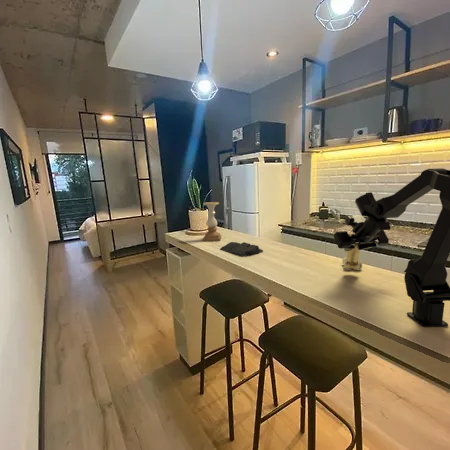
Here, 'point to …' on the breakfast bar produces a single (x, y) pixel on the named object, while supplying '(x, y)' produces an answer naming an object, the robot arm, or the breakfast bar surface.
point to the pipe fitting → (350, 269)
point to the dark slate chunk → (241, 249)
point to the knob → (352, 257)
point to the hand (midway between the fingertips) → (350, 250)
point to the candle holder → (211, 223)
